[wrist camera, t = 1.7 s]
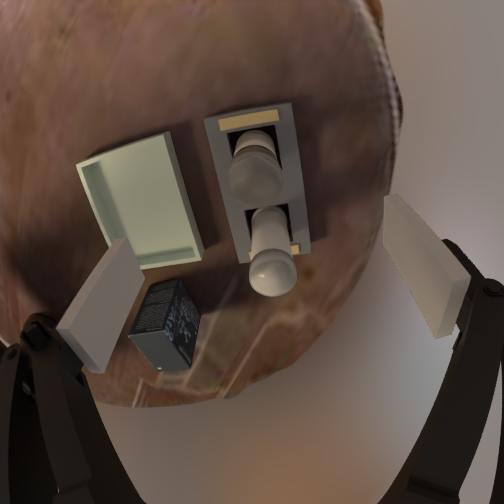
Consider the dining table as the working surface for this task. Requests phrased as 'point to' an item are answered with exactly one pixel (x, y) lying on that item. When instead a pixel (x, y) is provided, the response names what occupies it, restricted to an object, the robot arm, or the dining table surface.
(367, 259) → the dining table surface
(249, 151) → the cylinder
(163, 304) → the box
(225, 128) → the fuse holder
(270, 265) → the fuse
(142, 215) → the parts tray
